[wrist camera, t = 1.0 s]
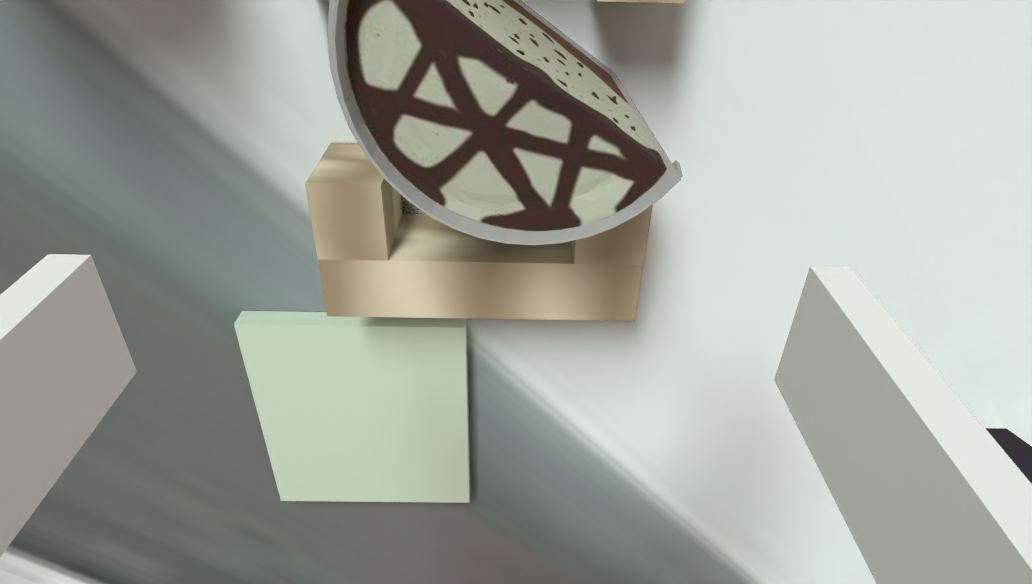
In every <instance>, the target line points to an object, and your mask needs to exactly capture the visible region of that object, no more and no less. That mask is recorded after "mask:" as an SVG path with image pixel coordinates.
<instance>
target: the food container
mask: <svg viewBox="0 0 1032 584" xmlns="http://www.w3.org/2000/svg"><path fill="white" fill-rule="evenodd" d="M327 36H328V48H329V60H330V68H331V73H332V77H333V81H334V85H335V90H336V94H337V98H338V101H339V103H340V106H341V108H342V111H343V113H344V116H345V118H346V121H347V123H348V126H349V128H350V130H351V131H352V133H353V135H354V137H355V138H356V140H357V142H358V144H359V145H360V147H361V149H362V150H363V152H364V154H365V155H366V157H367V158H368V159H369V160H370V162H371V163H372V164H373V165H374V167H375V168H376V169H377V170H378V172H379V173H380V174H381V176H382V177H383V178H384V179H385V180H386V181H387V182H388V183H389V184H390V185H391V186H392V187H394V188H395V189H396V190H397V191H398V192H399V193H400V194H401V195H402V196H403V197H404V198H405V199H406V200H407V201H409V202H410V203H411V204H413V205H414V206H416V207H417V208H419V209H420V210H421V211H423V212H424V213H426V214H427V215H428V216H430V217H432V218H433V219H435V220H437V221H439V222H441V223H443V224H445V225H447V226H449V227H451V228H453V229H455V230H458V231H461V232H464V233H466V234H469V235H472V236H475V237H478V238H481V239H486V240H491V241H496V242H501V243H506V244H521V245H544V244H556V243H564V242H568V241H573V240H578V239H582V238H587V237H590V236H593V235H595V234H598V233H601V232H603V231H606V230H609V229H612V228H614V227H616V226H618V225H620V224H622V223H623V222H625V221H627V220H629V219H631V218H633V217H635V216H637V215H638V214H640V213H641V212H643V211H644V210H645V209H647V208H648V207H650V206H651V205H652V204H654V203H655V202H657V201H658V200H659V199H661V198H662V197H663V196H664V195H665V194H666V193H667V192H668V191H669V190H670V189H672V188H673V187H674V186H675V185H676V184H677V183H678V182H679V181H680V180H681V179H680V178H681V177H682V172H681V168H680V164H679V163H678V162H677V161H675V162H674V163H673V164H672V163H671V161H670V160H669V158H668V157H667V155H666V153H665V152H664V150H663V149H662V147H661V146H660V144H659V142H658V141H657V139H656V138H655V136H654V135H653V133H652V131H651V130H650V128H649V127H648V125H647V124H646V122H645V120H644V119H643V117H642V116H641V114H640V112H639V111H638V109H637V108H636V106H635V105H634V103H633V101H632V100H631V98H630V97H629V95H628V94H627V92H626V90H625V89H624V87H623V86H622V84H621V83H620V81H619V79H618V78H617V76H616V75H615V73H614V72H613V71H612V70H610V69H609V68H608V67H606V66H605V65H604V64H602V63H601V62H600V61H599V60H597V59H596V58H595V57H593V56H592V55H591V54H589V53H588V52H587V51H586V50H584V49H583V48H582V47H580V46H579V45H578V44H577V43H575V42H574V41H573V40H571V39H570V38H569V37H567V36H566V35H565V34H564V33H562V32H561V31H560V30H558V29H557V28H556V27H555V26H553V25H552V24H551V23H549V22H548V21H547V20H545V19H544V18H543V17H542V16H540V15H539V14H538V13H536V12H535V11H534V10H532V9H531V8H530V7H529V6H527V5H526V4H525V3H523V2H522V1H521V0H329V14H328V28H327Z"/></svg>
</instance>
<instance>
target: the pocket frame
mask: <svg viewBox="0 0 1032 584" xmlns="http://www.w3.org/2000/svg"><path fill="white" fill-rule="evenodd" d="M596 1H606V2H646V3H684V0H596ZM305 185H306V191H307V197H308V203H309V209H310V215H311V221H312V227H313V233H314V239H315V245H316V251H317V257H318V263H319V269H320V275H321V281H322V287H323V293H324V299H325V305H326V311H327V316H338V317H405V318H471V319H537V320H603V321H635V316H636V309H637V303H638V297H639V290H640V284H641V277H642V271H643V264H644V258H645V251H646V245H647V238H648V232H649V225H650V219H651V212H652V206H653V204H652V205H651V206H650V207H648V208H647V209H645V210H644V211H643V212H641V213H640V214H638V215H637V216H635V217H633V218H631V219H629V220H627V221H625V222H623V223H622V224H620V225H618V226H616V227H614V228H612V229H609V230H606V231H603V232H601V233H598V234H595V235H593V236H590V237H587V238H582V239H578V240H573V241H568V242H564V243H556V244H544V245H521V244H506V243H501V242H496V241H491V240H486V239H481V238H478V237H475V236H472V235H469V234H466V233H464V232H461V231H458V230H455V229H453V228H451V227H449V226H447V225H445V224H443V223H441V222H439V221H437V220H435V219H433V218H432V217H430V216H428V215H427V214H422V213H403V212H402V200H401V194H400V193H399V192H398V191H397V190H396V189H395V188H394V187H392V186H391V185H390V184H389V183H388V182H387V181H386V180H385V179H384V178H383V177H382V176H381V174H380V173H379V172H378V170H377V169H376V168H375V167H374V165H373V164H372V163H371V162H370V160H369V159H368V158H367V157H366V155H365V154H364V152H363V150H362V149H361V147H360V145H359V144H358V143H331V144H330V145H329V147H328V149H327V150H326V152H325V153H324V155H323V157H322V158H321V160H320V161H319V163H318V164H317V166H316V168H315V169H314V171H313V172H312V174H311V176H310V177H309V179H308V180H307V182H306V184H305Z"/></svg>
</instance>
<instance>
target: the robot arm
mask: <svg viewBox="0 0 1032 584" xmlns="http://www.w3.org/2000/svg"><path fill="white" fill-rule="evenodd" d="M136 372H137V371H136V369H135V366H134V364H133V361H132V358H131V356H130V353H129V351H128V348H127V346H126V343H125V341H124V338H123V336H122V333H121V330H120V328H119V325H118V323H117V320H116V318H115V315H114V313H113V310H112V307H111V305H110V302H109V300H108V297H107V295H106V292H105V290H104V287H103V285H102V282H101V279H100V277H99V274H98V272H97V269H96V267H95V264H94V262H93V259H92V257H91V255H60V254H48V255H47V256H46V257H44V258H43V259H42V260H41V261H40V262H39V263H37V264H36V265H35V266H34V267H33V268H31V269H30V270H29V271H28V272H27V273H26V274H24V275H23V276H22V277H21V278H20V279H19V280H17V281H16V282H15V283H14V284H13V285H12V286H10V287H9V288H8V289H7V290H6V291H4V292H3V293H2V294H1V295H0V557H1V556H2V554H3V553H4V552H5V550H6V549H7V547H8V546H9V545H10V543H11V542H12V541H13V539H14V538H15V537H16V535H17V534H18V532H19V531H20V530H21V528H22V527H23V526H24V524H25V523H26V522H27V520H28V519H29V517H30V516H31V515H32V513H33V512H34V511H35V509H36V508H37V507H38V505H39V504H40V503H41V501H42V500H43V498H44V497H45V496H46V494H47V493H48V492H49V490H50V489H51V488H52V486H53V485H54V483H55V482H56V481H57V479H58V478H59V477H60V475H61V474H62V473H63V471H64V470H65V468H66V467H67V466H68V464H69V463H70V462H71V460H72V459H73V458H74V456H75V455H76V453H77V452H78V451H79V449H80V448H81V447H82V445H83V444H84V443H85V441H86V440H87V438H88V437H89V436H90V434H91V433H92V432H93V430H94V429H95V428H96V426H97V425H98V423H99V422H100V421H101V419H102V418H103V417H104V415H105V414H106V413H107V411H108V410H109V408H110V407H111V406H112V404H113V403H114V402H115V400H116V399H117V398H118V396H119V395H120V393H121V392H122V391H123V389H124V388H125V387H126V385H127V384H128V383H129V381H130V380H131V378H132V377H133V376H134V374H135V373H136ZM775 382H776V384H777V386H778V388H779V390H780V392H781V394H782V396H783V398H784V400H785V402H786V404H787V406H788V408H789V410H790V412H791V414H792V416H793V418H794V420H795V422H796V424H797V426H798V428H799V430H800V432H801V434H802V436H803V438H804V440H805V442H806V444H807V446H808V448H809V450H810V452H811V454H812V456H813V458H814V460H815V462H816V464H817V466H818V468H819V470H820V472H821V474H822V476H823V478H824V480H825V482H826V484H827V486H828V488H829V490H830V492H831V494H832V496H833V498H834V500H835V502H836V504H837V506H838V508H839V510H840V512H841V514H842V516H843V518H844V520H845V522H846V524H847V526H848V528H849V530H850V532H851V534H852V536H853V538H854V540H855V542H856V544H857V546H858V547H859V549H860V551H861V553H862V555H863V557H864V559H865V561H866V563H867V565H868V567H869V569H870V571H871V573H872V575H873V577H874V579H875V581H876V583H877V584H1032V447H1031V446H1030V445H1029V444H1027V443H1026V442H1024V441H1023V440H1022V439H1020V438H1019V437H1017V436H1016V435H1015V434H1013V433H1012V432H1010V431H1009V430H1008V429H990V428H985V427H984V426H983V425H982V424H981V422H980V421H979V420H978V419H977V418H976V416H975V415H974V414H973V413H972V412H971V410H970V409H969V408H968V407H967V406H966V404H965V403H964V402H963V401H962V400H961V398H960V397H959V396H958V395H957V394H956V392H955V391H954V390H953V389H952V388H951V386H950V385H949V384H948V383H947V381H946V380H945V379H944V378H943V377H942V375H941V374H940V373H939V372H938V371H937V369H936V368H935V367H934V366H933V365H932V363H931V362H930V361H929V360H928V359H927V357H926V356H925V355H924V354H923V353H922V351H921V350H920V349H919V348H918V347H917V345H916V344H915V343H914V342H913V341H912V339H911V338H910V337H909V336H908V334H907V333H906V332H905V331H904V330H903V328H902V327H901V326H900V325H899V324H898V322H897V321H896V320H895V319H894V318H893V316H892V315H891V314H890V313H889V312H888V310H887V309H886V308H885V307H884V306H883V304H882V303H881V302H880V301H879V300H878V298H877V297H876V296H875V295H874V294H873V292H872V291H871V290H870V289H869V288H868V286H867V285H866V284H865V283H864V281H863V280H862V279H861V278H860V277H859V275H858V274H857V273H856V272H855V271H854V269H853V268H852V267H816V266H810V269H809V272H808V275H807V278H806V282H805V285H804V288H803V291H802V294H801V297H800V300H799V304H798V307H797V310H796V313H795V316H794V319H793V323H792V326H791V329H790V332H789V335H788V338H787V342H786V345H785V348H784V351H783V354H782V357H781V361H780V364H779V367H778V370H777V373H776V376H775Z"/></svg>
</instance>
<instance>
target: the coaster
mask: <svg viewBox="0 0 1032 584" xmlns="http://www.w3.org/2000/svg"><path fill="white" fill-rule="evenodd" d="M234 326H235V330H236V334H237V337H238V341H239V345H240V349H241V352H242V356H243V360H244V364H245V367H246V371H247V375H248V379H249V382H250V386H251V390H252V394H253V397H254V401H255V405H256V408H257V412H258V416H259V420H260V423H261V427H262V431H263V435H264V438H265V442H266V446H267V450H268V453H269V457H270V461H271V465H272V468H273V472H274V476H275V480H276V483H277V487H278V491H279V494H280V498H281V501H352V502H457V503H469V500H470V451H469V405H468V360H467V318H405V317H338V316H327V312H278V311H242V312H241V313H240V315H239V317H238V318H237V320H236V322H235V323H234Z"/></svg>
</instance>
